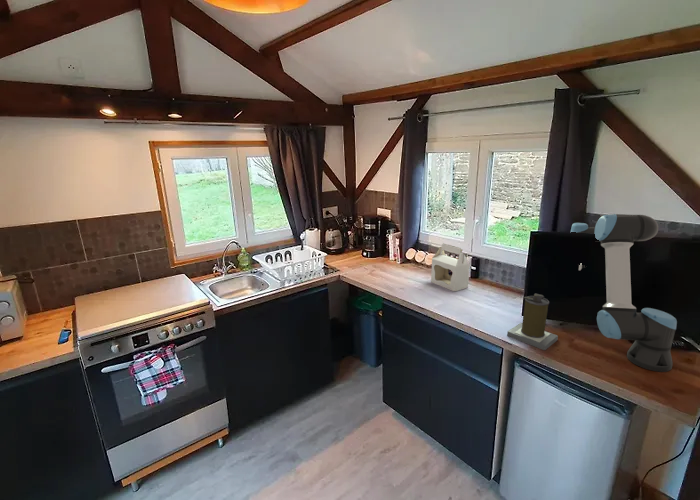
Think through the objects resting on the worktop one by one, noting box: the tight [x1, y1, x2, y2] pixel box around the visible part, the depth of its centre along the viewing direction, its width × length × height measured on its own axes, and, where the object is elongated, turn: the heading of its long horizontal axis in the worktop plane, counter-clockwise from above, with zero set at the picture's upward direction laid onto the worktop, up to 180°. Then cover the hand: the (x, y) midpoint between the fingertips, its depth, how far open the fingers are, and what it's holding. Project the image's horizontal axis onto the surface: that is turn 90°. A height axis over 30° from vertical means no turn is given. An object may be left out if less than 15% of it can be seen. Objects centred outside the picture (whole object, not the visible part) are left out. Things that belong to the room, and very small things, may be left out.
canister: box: [520, 293, 550, 338], centre depth 172 cm, size 11×10×20 cm
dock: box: [506, 322, 559, 351], centre depth 175 cm, size 18×14×3 cm
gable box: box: [430, 242, 471, 292], centre depth 242 cm, size 22×13×28 cm, turn 32°
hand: (563, 265), depth 177 cm, fingers open, 13 cm apart
